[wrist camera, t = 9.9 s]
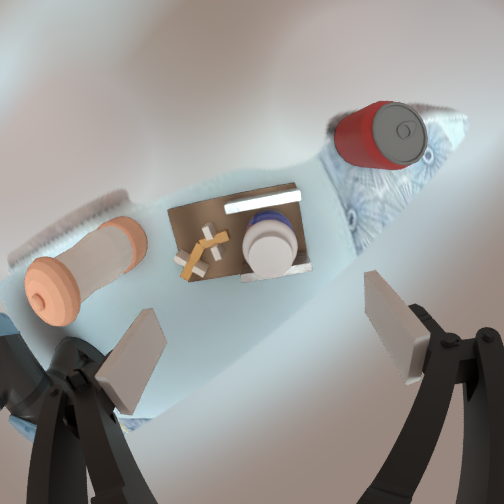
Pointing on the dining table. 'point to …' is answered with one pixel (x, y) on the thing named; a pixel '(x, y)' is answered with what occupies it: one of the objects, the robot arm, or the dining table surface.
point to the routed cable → (193, 260)
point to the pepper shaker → (83, 269)
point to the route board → (198, 214)
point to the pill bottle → (269, 243)
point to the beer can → (382, 136)
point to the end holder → (264, 200)
